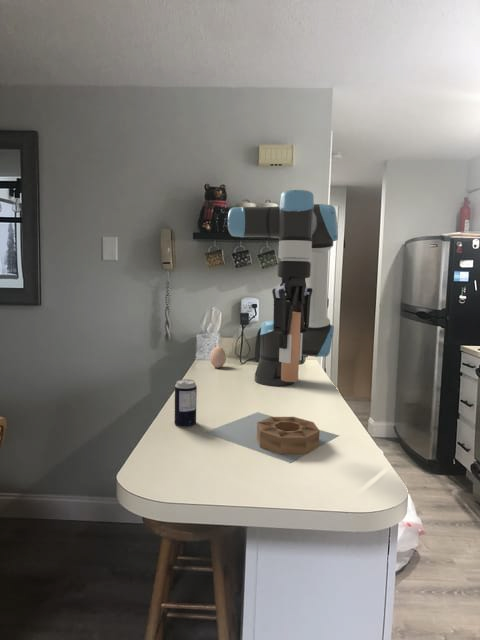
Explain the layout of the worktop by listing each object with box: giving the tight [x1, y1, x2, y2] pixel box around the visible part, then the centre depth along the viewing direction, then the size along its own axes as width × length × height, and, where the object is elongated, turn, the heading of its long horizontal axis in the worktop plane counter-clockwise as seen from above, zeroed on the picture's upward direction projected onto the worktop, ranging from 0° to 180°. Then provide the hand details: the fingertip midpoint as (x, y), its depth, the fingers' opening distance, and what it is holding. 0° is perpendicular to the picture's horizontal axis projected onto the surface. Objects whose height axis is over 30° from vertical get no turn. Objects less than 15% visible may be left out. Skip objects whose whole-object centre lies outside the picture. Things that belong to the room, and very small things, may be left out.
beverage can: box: [174, 378, 198, 428], centre depth 118 cm, size 6×6×12 cm
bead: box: [257, 416, 321, 455], centre depth 107 cm, size 14×14×4 cm
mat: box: [204, 411, 340, 464], centre depth 113 cm, size 22×26×1 cm
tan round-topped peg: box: [281, 312, 301, 383], centre depth 104 cm, size 4×4×16 cm
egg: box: [209, 345, 227, 369], centre depth 187 cm, size 7×7×9 cm
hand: (290, 360), depth 105 cm, fingers closed on tan round-topped peg, 4 cm apart
